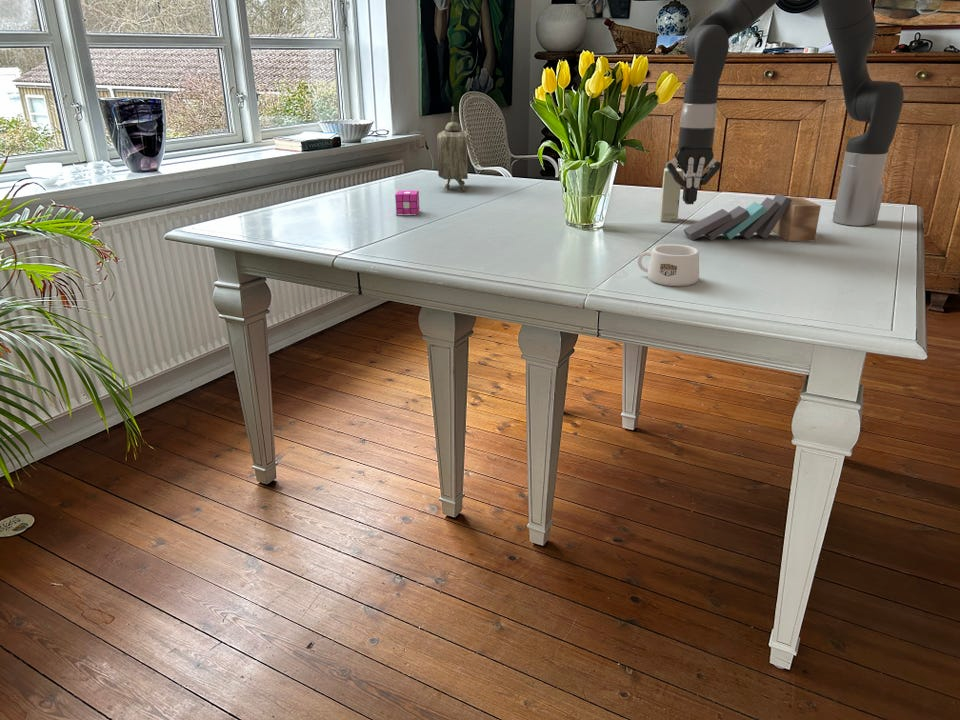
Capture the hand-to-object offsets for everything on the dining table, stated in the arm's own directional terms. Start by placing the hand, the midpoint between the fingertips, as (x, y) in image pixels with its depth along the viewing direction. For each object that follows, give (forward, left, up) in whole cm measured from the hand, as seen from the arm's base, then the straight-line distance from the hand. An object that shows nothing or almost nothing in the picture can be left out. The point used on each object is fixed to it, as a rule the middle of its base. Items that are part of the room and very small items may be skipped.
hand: (689, 203), depth 164 cm
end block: (-25, 0, -8) cm, 27 cm away
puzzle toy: (+67, -34, -8) cm, 75 cm away
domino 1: (0, 0, -7) cm, 7 cm away
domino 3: (-9, 0, -7) cm, 12 cm away
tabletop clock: (+54, -69, -8) cm, 88 cm away
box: (-1, -19, -8) cm, 21 cm away
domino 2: (-5, 0, -7) cm, 9 cm away
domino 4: (-13, 0, -8) cm, 15 cm away
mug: (+14, +31, -8) cm, 35 cm away
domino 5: (-18, 0, -8) cm, 19 cm away
